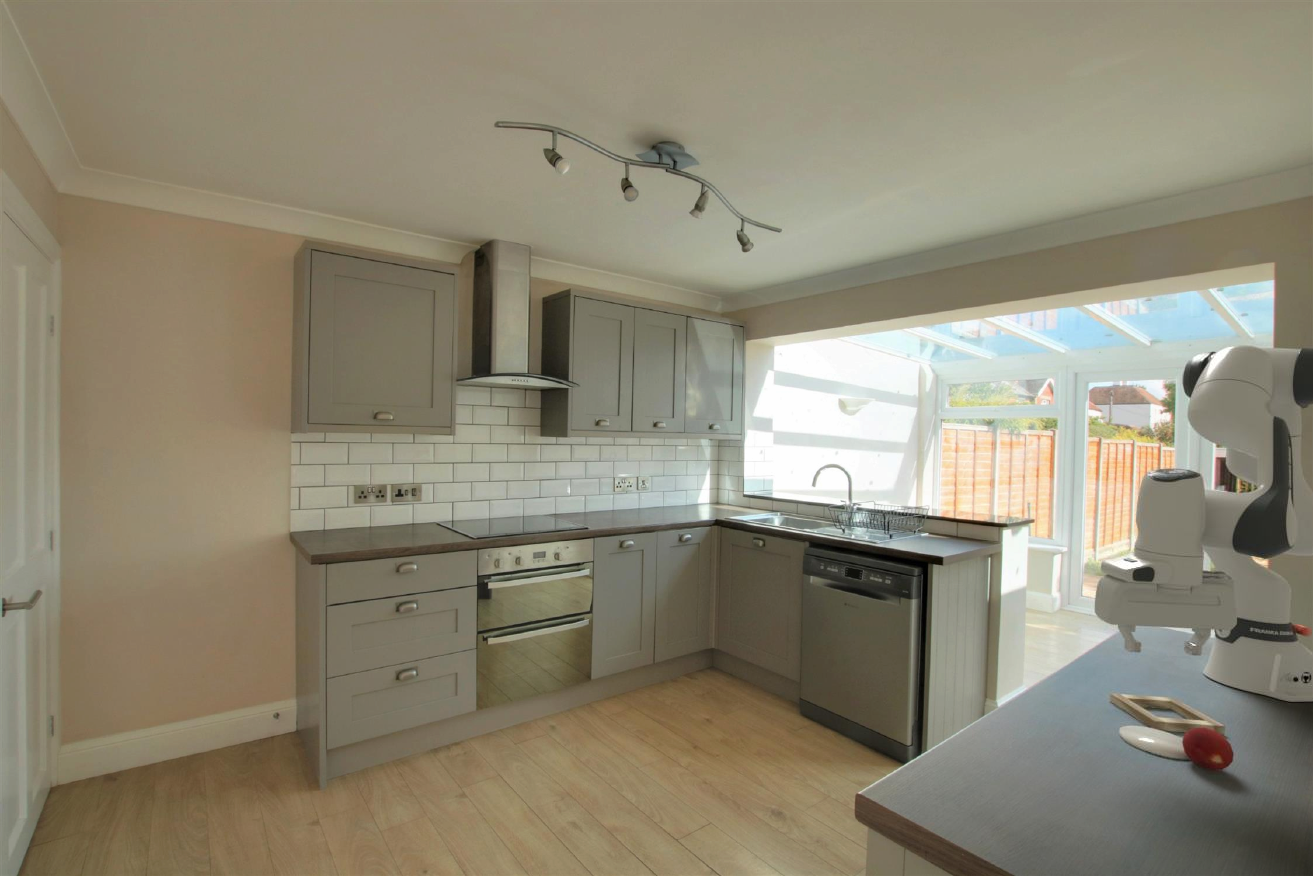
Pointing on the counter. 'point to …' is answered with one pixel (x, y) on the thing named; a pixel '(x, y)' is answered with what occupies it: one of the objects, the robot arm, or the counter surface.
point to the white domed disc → (1154, 741)
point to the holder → (1166, 724)
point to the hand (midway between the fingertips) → (1162, 652)
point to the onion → (1207, 748)
